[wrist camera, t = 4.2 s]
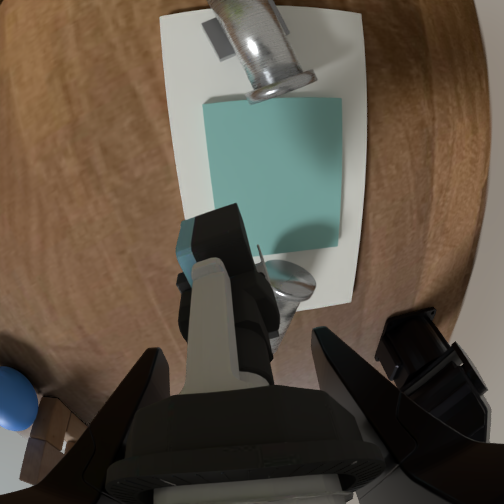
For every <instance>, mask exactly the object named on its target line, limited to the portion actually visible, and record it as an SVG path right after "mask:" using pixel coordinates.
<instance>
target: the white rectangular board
mask: <svg viewBox="0 0 504 504" xmlns="http://www.w3.org/2000/svg"><path fill="white" fill-rule="evenodd" d="M276 7H277V9H278V10H279V12H280V14H281V16H282V18H283V20H284V22H285V24H286V26H287V28H288V30H289V32H290V34H289V35H288V36H287V38H288V40H289V42H290V44H291V46H292V48H293V50H294V52H295V54H296V57H297V59H298V61H299V63H300V65H301V67H302V70H303V71H306V70H309V69H313V70H314V72H315V74H316V77H317V79H318V80H317V81H315V82H313V83H311V84H309V85H306V86H304V87H301V88H298V89H296V90H293V91H291V92H288V93H285V94H282V95H280V96H277V97H274V98H271V99H268V100H265V101H263V102H260V103H256V104H253V105H249V103H248V101H247V99H246V97H245V95H244V94H245V93H247V92H250V91H252V90H253V88H252V85H251V83H250V81H249V79H248V77H247V75H246V73H245V71H244V69H243V67H242V65H241V63H240V61H239V59H238V57H237V55H236V56H234V57H231V58H229V59H226V60H224V61H222V62H220V61H219V59H218V57H217V55H216V53H215V51H214V49H213V48H212V46H211V44H210V42H209V40H208V38H207V36H206V34H205V33H204V31H203V29H202V25H201V23H203V22H206V21H208V20H210V19H213V18H215V17H216V16H215V14H214V13H213V11H212V9H204V10H196V11H189V12H183V13H177V14H171V15H166V16H161V17H160V30H161V43H162V55H163V66H164V76H165V86H166V95H167V103H168V111H169V119H170V127H171V134H172V141H173V148H174V155H175V162H176V168H177V174H178V181H179V187H180V193H181V198H182V204H183V210H184V215H185V220H187V219H190V218H193V217H195V216H198V215H201V214H204V213H207V212H210V211H212V210H215V209H218V208H221V207H224V206H227V205H230V204H233V203H237V205H238V207H239V210H240V213H241V216H242V219H243V222H244V226H245V229H246V233H247V237H248V241H249V245H250V249H251V253H252V257H253V260H254V263H255V264H257V263H260V262H261V259H260V255H259V251H258V248H257V245H258V244H259V246H260V249H261V252H262V255H263V258H264V261H265V262H266V261H269V260H284V261H288V262H292V263H294V264H297V265H299V266H301V267H302V268H304V269H305V270H307V271H308V272H309V273H310V274H311V275H312V276H313V277H314V279H315V281H316V288H315V290H314V293H313V295H312V296H311V298H310V299H308V300H306V301H303V302H300V304H299V306H298V308H297V310H296V311H301V310H308V309H314V308H320V307H326V306H332V305H338V304H344V303H349V302H351V299H352V293H353V286H354V280H355V273H356V266H357V259H358V251H359V242H360V234H361V224H362V213H363V202H364V188H365V172H366V147H367V87H366V64H365V48H364V36H363V26H362V16H361V14H360V13H354V12H347V11H340V10H332V9H323V8H313V7H298V6H276Z"/></svg>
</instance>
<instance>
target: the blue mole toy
mask: <svg viewBox="0 0 504 504" xmlns="http://www.w3.org/2000/svg"><path fill="white" fill-rule="evenodd" d="M37 413H38V399H37V395H36V392H35V390H34V388H33V386H32V384H31V383H30V381H29V380H28V379H27V378H26V377H25V376H24V375H23V374H21V373H20V372H19V371H17V370H15V369H13V368H10V367H6V366H0V426H2V427H3V428H5V429H8V430H12V431H22V430H25V429H27V428H28V427H30V426H31V425H32V424H33V422H34V421H35V419H36V416H37Z"/></svg>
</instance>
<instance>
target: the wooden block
mask: <svg viewBox="0 0 504 504" xmlns="http://www.w3.org/2000/svg"><path fill="white" fill-rule="evenodd" d="M86 428H87V426H86V425H85V424H84V423H83V422H82V421H81V420H80V419H79V418H77V417H76V416H75V415H74V414H73V413H72V412H71V411H70V410H69V409H68V408H67V407H66V406H65V405H64V404H63V403H62V402H61V401H60V400H59V399H58V398H49V397H42V398H41V401H40V404H39V407H38V413H37V416H36V419H35V421H34V423H33V426H32V430H31V433H30V437H31V438H30V437H29V440H28V443H27V447H26V451H25V455H24V460H23V464H22V468H21V473H20V478H19V479H20V480H21V481H24V482H26V483H29V484H32V485H36V484H37V483H39V482H40V481H41V480H42V479H43V478H44V477H45V476H46V475H47V474H48V473H49V472H50V471H51V470H52V469H53V468H54V467H55V465H56V464H57V463H58V462H59V461H60V460H61V459H62V458H63V457H64V456H65V455H66V453H67V452H68V451H69V450H70V449H71V448H72V447H73V445H74V444H75V443H76V441H77V440H78V439H79V438H80V436H81V435H82V434H83V432H84V431H85V430H86ZM64 440H65V441H66V442H67V444H66V448H65V453H64V454H63V453H62V452H60V451H61V450H62V446H63V442H64Z"/></svg>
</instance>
